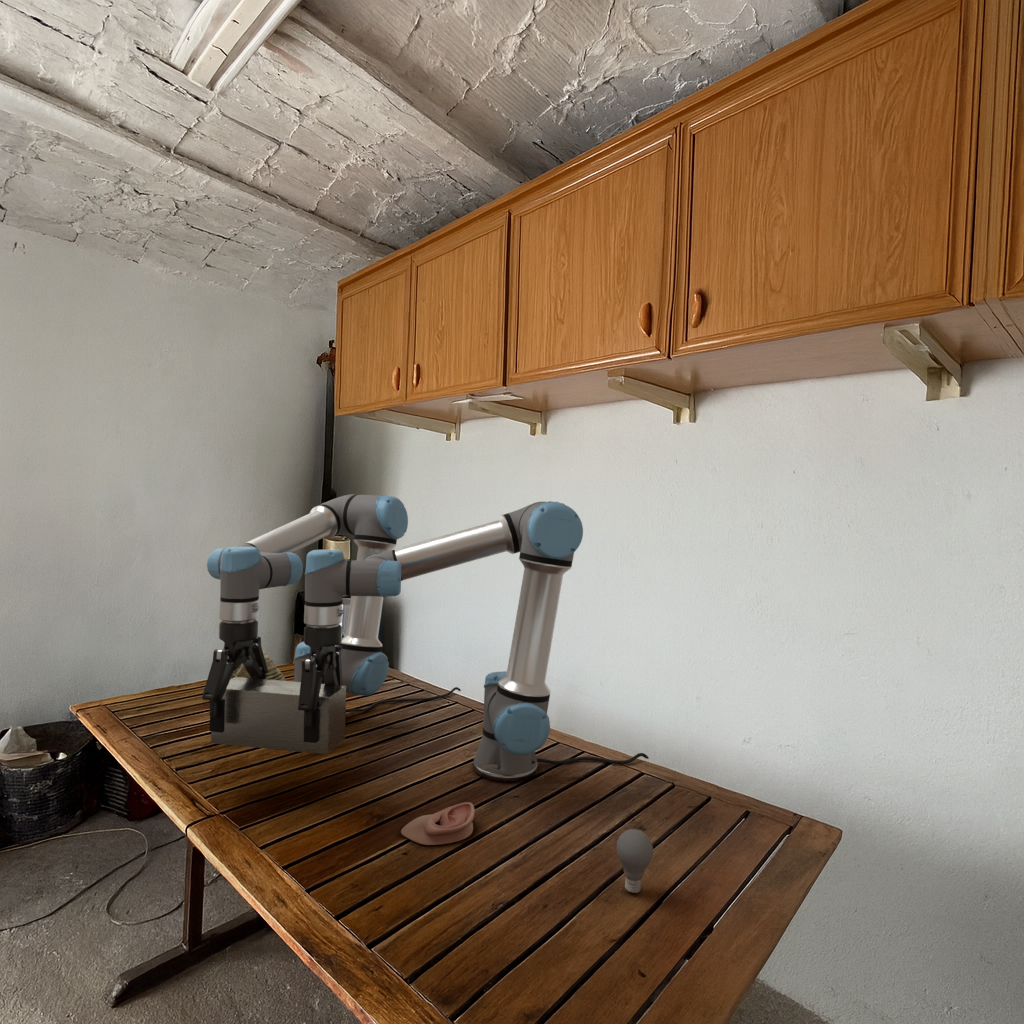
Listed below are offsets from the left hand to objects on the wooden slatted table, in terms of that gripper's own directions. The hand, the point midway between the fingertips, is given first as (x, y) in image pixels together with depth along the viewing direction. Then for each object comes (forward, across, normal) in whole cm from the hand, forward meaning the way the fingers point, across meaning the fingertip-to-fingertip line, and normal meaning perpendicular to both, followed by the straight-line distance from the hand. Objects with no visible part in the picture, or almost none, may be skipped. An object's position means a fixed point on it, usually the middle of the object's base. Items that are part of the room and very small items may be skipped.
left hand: (236, 719), depth 134 cm
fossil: (+16, +59, +30) cm, 69 cm away
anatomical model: (+15, -6, -46) cm, 49 cm away
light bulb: (+15, -17, -83) cm, 86 cm away
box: (+4, 0, -10) cm, 11 cm away
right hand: (+1, 0, -19) cm, 19 cm away
